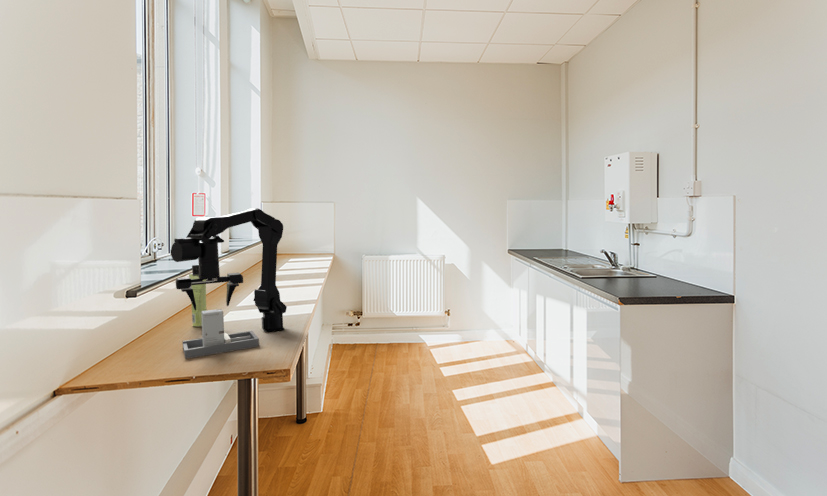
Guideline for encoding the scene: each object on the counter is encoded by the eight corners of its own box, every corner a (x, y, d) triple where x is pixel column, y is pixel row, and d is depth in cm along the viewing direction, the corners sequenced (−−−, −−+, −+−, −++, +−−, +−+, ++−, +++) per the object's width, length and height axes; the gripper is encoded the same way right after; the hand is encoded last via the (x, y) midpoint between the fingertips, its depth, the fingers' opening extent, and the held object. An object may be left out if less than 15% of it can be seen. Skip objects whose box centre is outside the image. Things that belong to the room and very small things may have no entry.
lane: (252, 337, 152) (252, 330, 152) (259, 346, 143) (258, 338, 142) (183, 348, 142) (182, 341, 141) (185, 358, 132) (184, 350, 132)
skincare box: (204, 352, 137) (201, 313, 136) (202, 348, 141) (200, 310, 140) (225, 349, 141) (223, 311, 139) (223, 345, 144) (221, 308, 143)
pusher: (248, 338, 150) (247, 329, 150) (253, 344, 143) (252, 335, 143) (222, 342, 146) (221, 333, 146) (226, 349, 139) (225, 339, 139)
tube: (208, 322, 173) (205, 272, 172) (209, 325, 169) (205, 274, 167) (192, 324, 171) (189, 273, 169) (192, 327, 166) (188, 275, 165)
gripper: (236, 253, 150) (238, 299, 152) (173, 258, 141) (176, 307, 142) (242, 256, 141) (244, 305, 142) (174, 261, 131) (178, 314, 133)
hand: (211, 307), depth 140 cm, fingers open, 9 cm apart
